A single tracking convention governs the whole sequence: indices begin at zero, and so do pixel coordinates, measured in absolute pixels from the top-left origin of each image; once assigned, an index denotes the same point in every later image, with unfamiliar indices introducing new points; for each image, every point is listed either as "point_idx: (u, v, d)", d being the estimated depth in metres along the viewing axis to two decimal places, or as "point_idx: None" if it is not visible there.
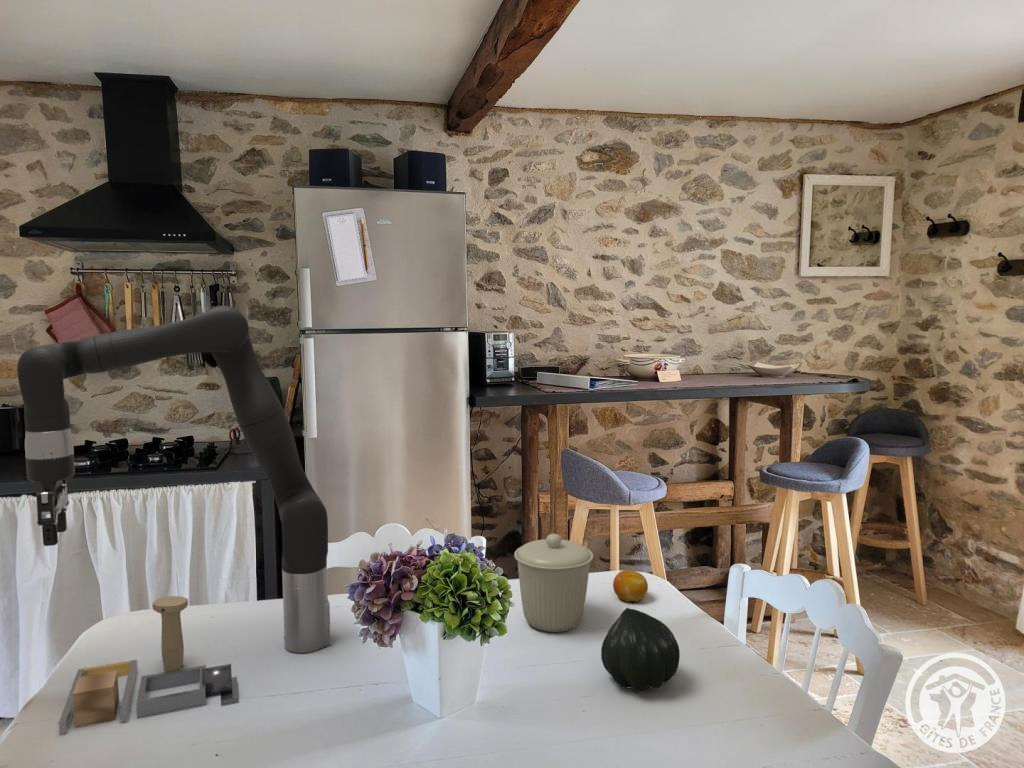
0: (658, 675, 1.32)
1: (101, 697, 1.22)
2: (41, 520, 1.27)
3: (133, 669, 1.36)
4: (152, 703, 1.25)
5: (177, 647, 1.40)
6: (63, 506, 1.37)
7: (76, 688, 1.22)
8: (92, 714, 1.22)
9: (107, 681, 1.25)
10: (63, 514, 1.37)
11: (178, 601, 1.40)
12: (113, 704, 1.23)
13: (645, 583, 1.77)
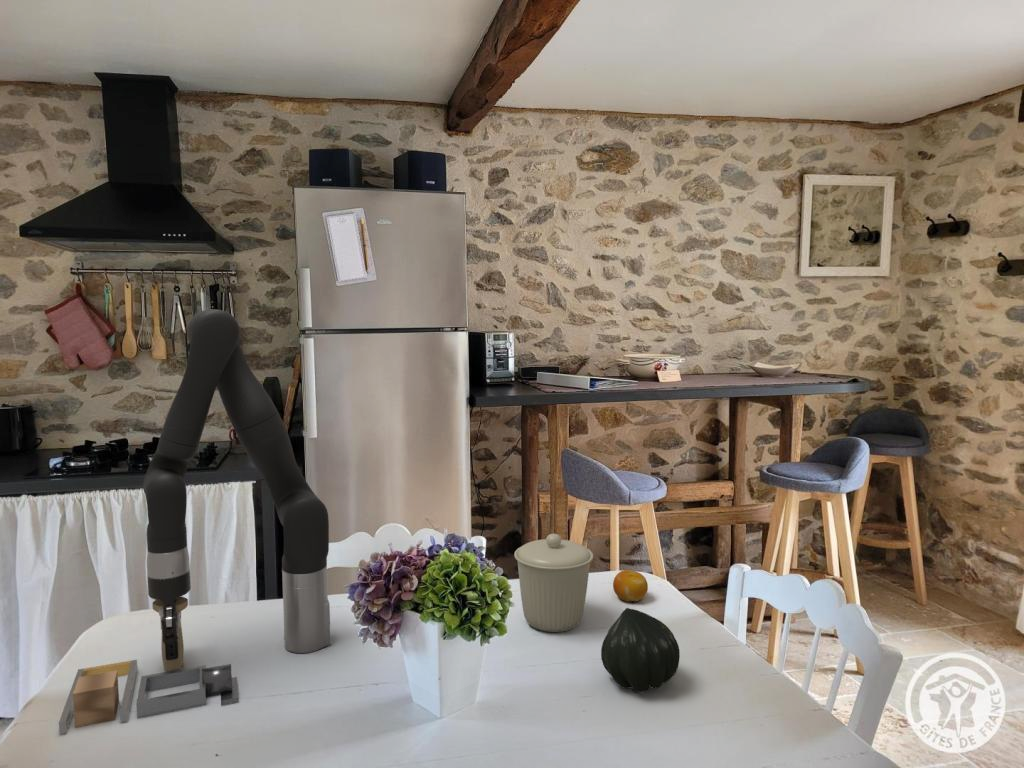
0: (658, 675, 1.32)
1: (101, 697, 1.22)
2: (166, 638, 1.36)
3: (133, 669, 1.36)
4: (152, 703, 1.25)
5: None
6: None
7: (76, 688, 1.22)
8: (92, 714, 1.22)
9: (107, 681, 1.25)
10: None
11: (178, 601, 1.40)
12: (113, 704, 1.23)
13: (645, 583, 1.77)
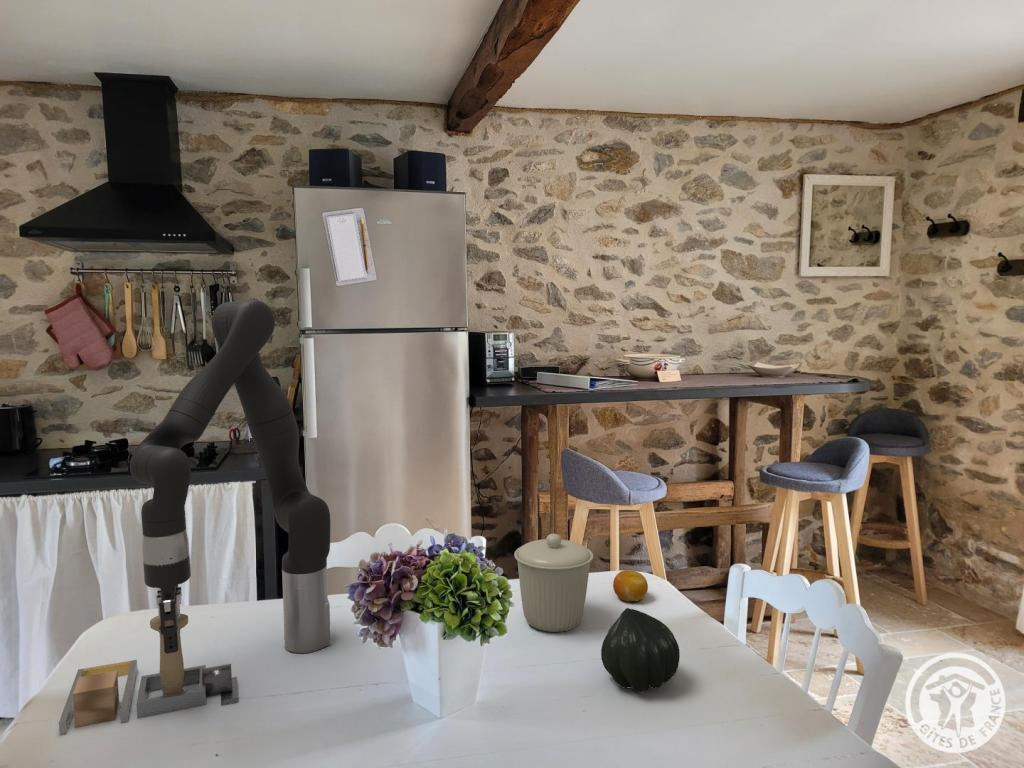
0: (658, 675, 1.32)
1: (101, 697, 1.22)
2: (164, 629, 1.22)
3: (133, 669, 1.36)
4: (152, 703, 1.25)
5: (176, 668, 1.29)
6: None
7: (76, 688, 1.22)
8: (92, 714, 1.22)
9: (107, 681, 1.25)
10: None
11: None
12: (113, 704, 1.23)
13: (645, 583, 1.77)
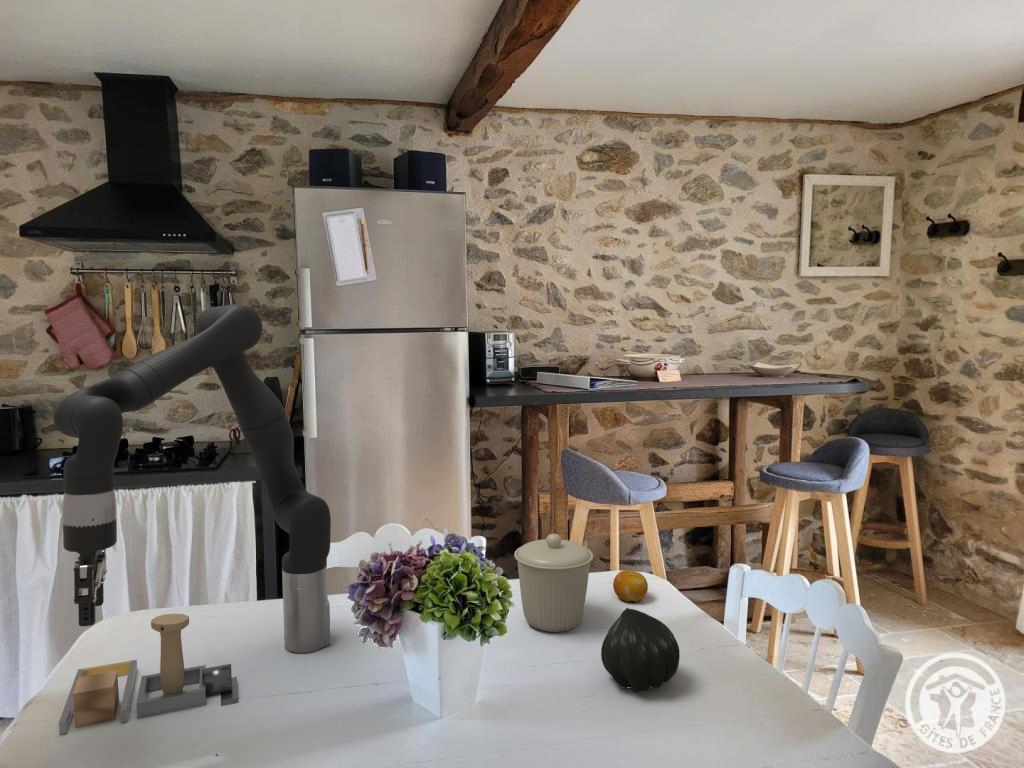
0: (658, 675, 1.32)
1: (101, 697, 1.22)
2: (78, 598, 1.10)
3: (133, 669, 1.36)
4: (152, 703, 1.25)
5: (177, 669, 1.29)
6: (101, 577, 1.20)
7: (76, 688, 1.22)
8: (92, 714, 1.22)
9: (107, 681, 1.25)
10: (100, 585, 1.20)
11: (178, 619, 1.30)
12: (113, 704, 1.23)
13: (645, 583, 1.77)
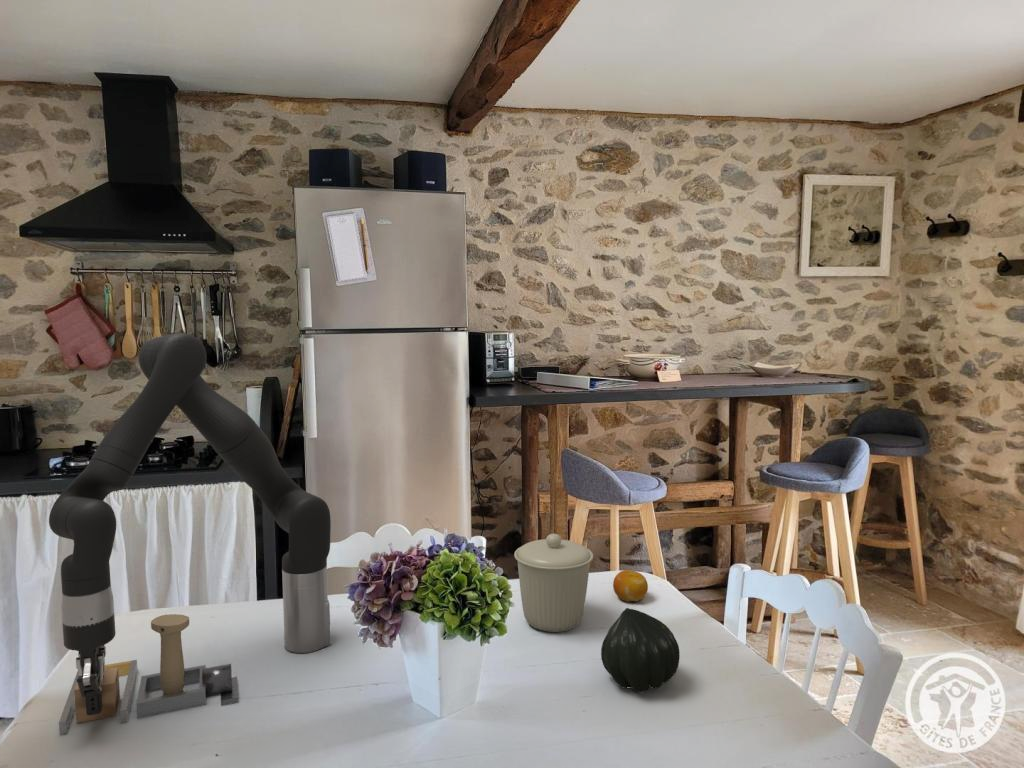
0: (658, 675, 1.32)
1: (102, 693, 1.24)
2: (85, 691, 1.18)
3: (133, 669, 1.36)
4: (152, 703, 1.25)
5: (177, 670, 1.29)
6: None
7: (77, 684, 1.24)
8: None
9: (108, 677, 1.26)
10: (99, 692, 1.21)
11: (178, 620, 1.29)
12: (114, 700, 1.25)
13: (645, 583, 1.77)
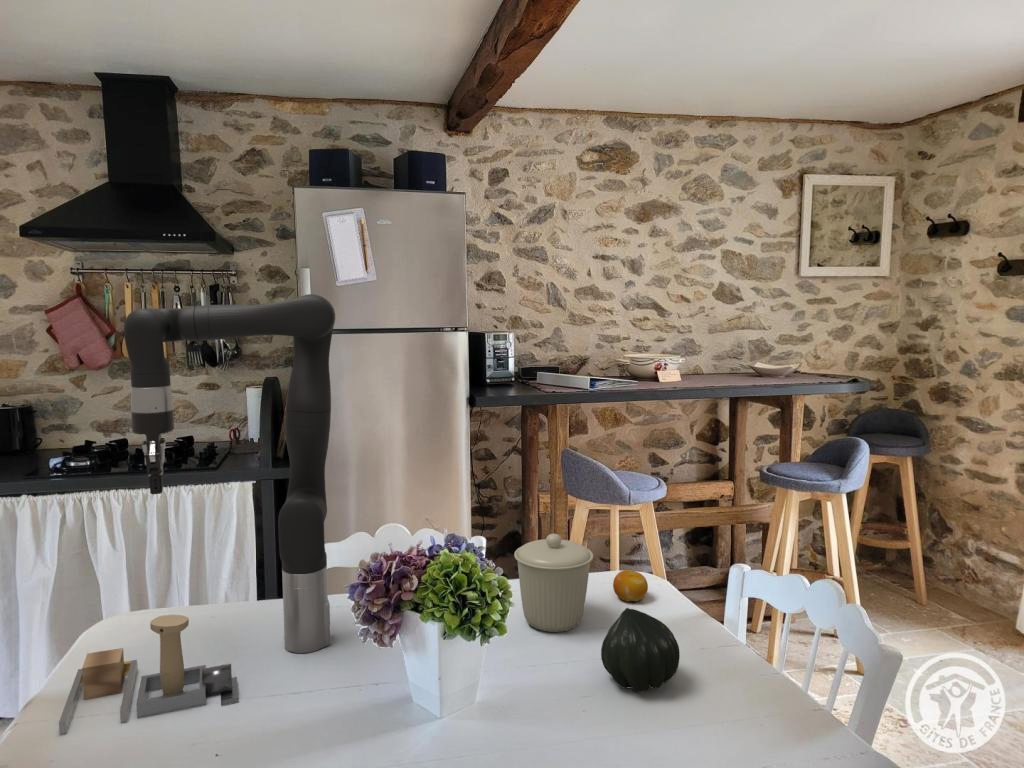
0: (658, 675, 1.32)
1: (108, 671, 1.31)
2: (150, 470, 1.41)
3: (133, 669, 1.36)
4: (152, 703, 1.25)
5: (177, 670, 1.29)
6: None
7: (85, 663, 1.31)
8: (100, 687, 1.31)
9: (114, 657, 1.33)
10: None
11: (178, 620, 1.29)
12: (119, 678, 1.32)
13: (645, 583, 1.77)
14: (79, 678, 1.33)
